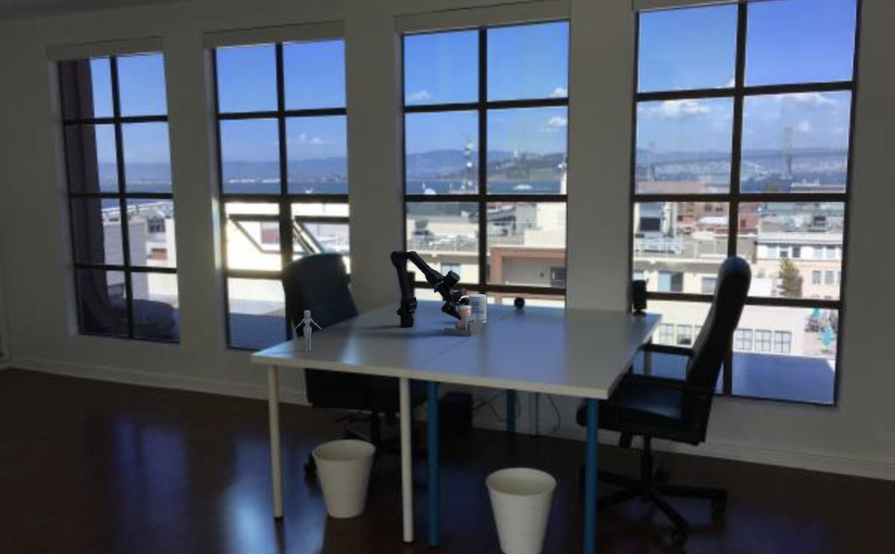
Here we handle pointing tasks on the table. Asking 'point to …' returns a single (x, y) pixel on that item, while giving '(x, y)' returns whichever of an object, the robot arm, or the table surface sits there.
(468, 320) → the follower
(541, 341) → the table surface
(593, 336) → the table surface
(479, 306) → the supplement tub
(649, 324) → the table surface
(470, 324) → the lane
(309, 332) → the human figurine
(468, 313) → the jar
